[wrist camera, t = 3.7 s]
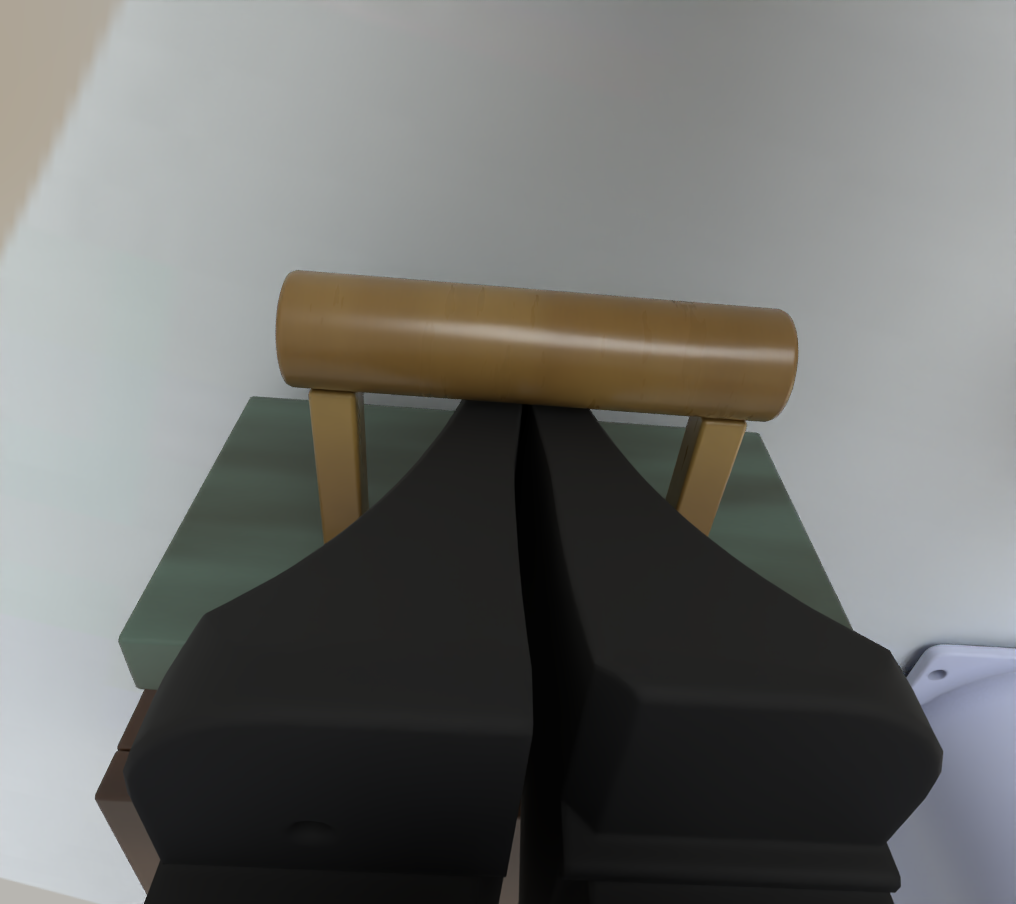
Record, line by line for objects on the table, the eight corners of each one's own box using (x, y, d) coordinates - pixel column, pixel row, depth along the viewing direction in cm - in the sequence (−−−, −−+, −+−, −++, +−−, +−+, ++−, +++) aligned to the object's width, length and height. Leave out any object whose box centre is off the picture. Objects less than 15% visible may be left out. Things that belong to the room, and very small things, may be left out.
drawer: (209, 147, 12) (-15, 317, 7) (843, 204, 12) (1072, 400, 7) (304, 727, 22) (243, 962, 17) (644, 744, 23) (681, 978, 18)
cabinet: (250, 464, 17) (91, 798, 11) (741, 497, 18) (874, 834, 11) (302, 762, 25) (230, 1052, 19) (636, 778, 26) (677, 1065, 19)
